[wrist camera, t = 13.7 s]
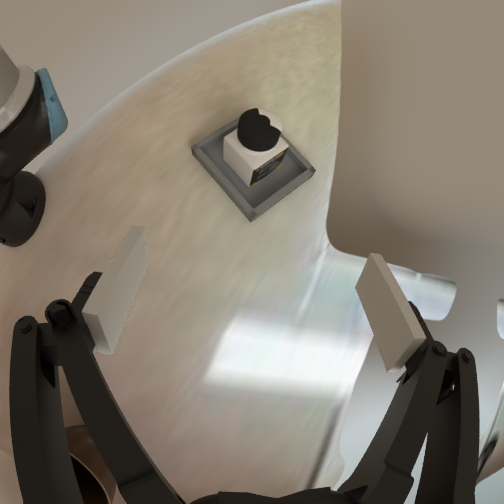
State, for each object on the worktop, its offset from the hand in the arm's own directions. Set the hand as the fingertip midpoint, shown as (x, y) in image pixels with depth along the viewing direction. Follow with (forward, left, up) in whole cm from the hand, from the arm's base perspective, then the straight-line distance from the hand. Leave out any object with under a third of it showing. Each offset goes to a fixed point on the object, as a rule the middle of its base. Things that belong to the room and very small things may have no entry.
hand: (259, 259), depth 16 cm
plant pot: (+7, -38, -28) cm, 47 cm away
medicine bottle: (-14, +15, -27) cm, 34 cm away
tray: (-14, +15, -28) cm, 35 cm away
